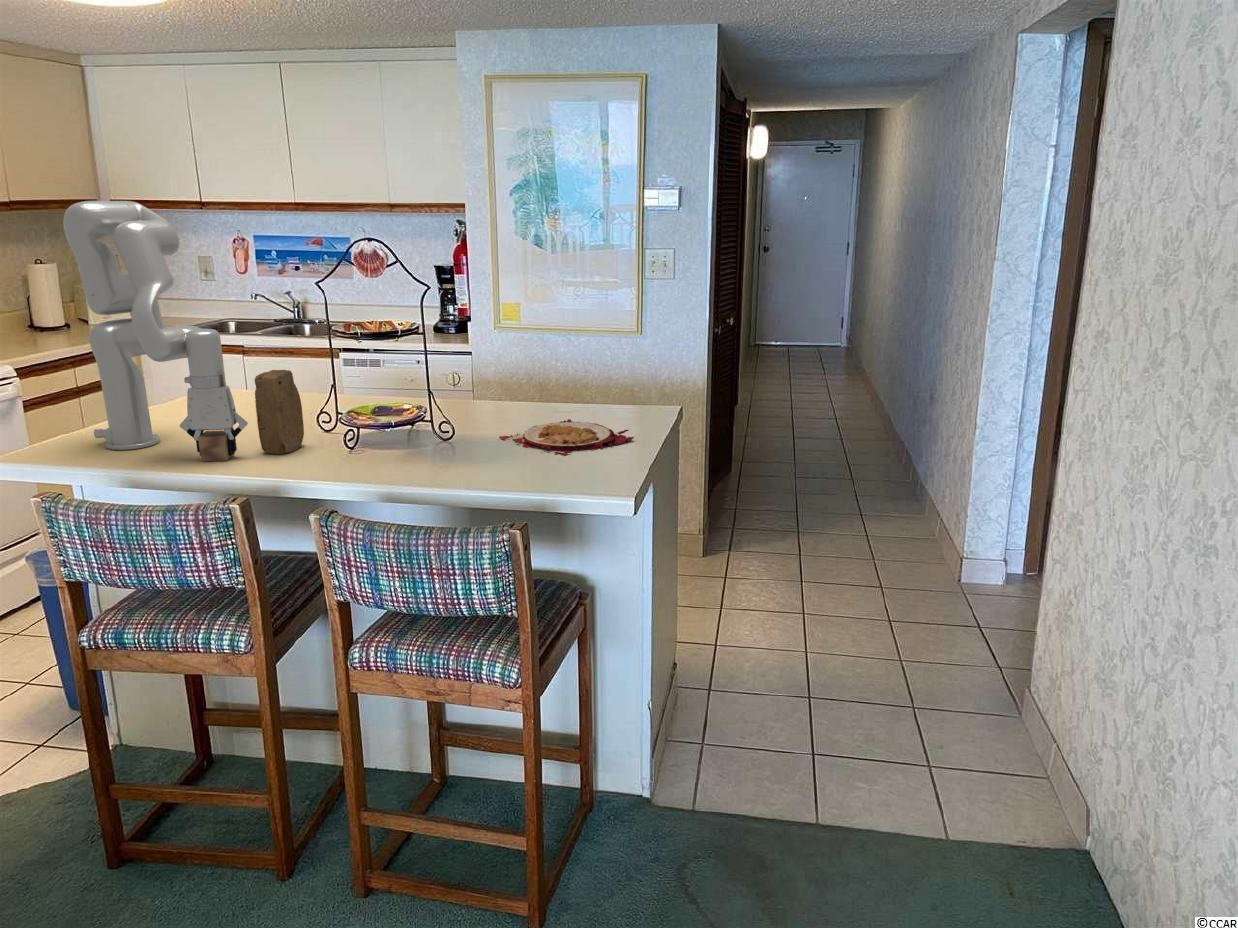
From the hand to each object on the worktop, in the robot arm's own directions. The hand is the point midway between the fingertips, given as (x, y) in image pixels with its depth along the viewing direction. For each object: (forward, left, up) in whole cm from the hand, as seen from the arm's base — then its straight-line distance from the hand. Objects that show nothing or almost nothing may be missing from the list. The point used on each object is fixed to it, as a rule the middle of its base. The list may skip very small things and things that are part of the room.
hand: (217, 453), depth 215 cm
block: (+14, +6, -1) cm, 15 cm away
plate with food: (+85, +7, -2) cm, 85 cm away
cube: (0, 0, -1) cm, 1 cm away
